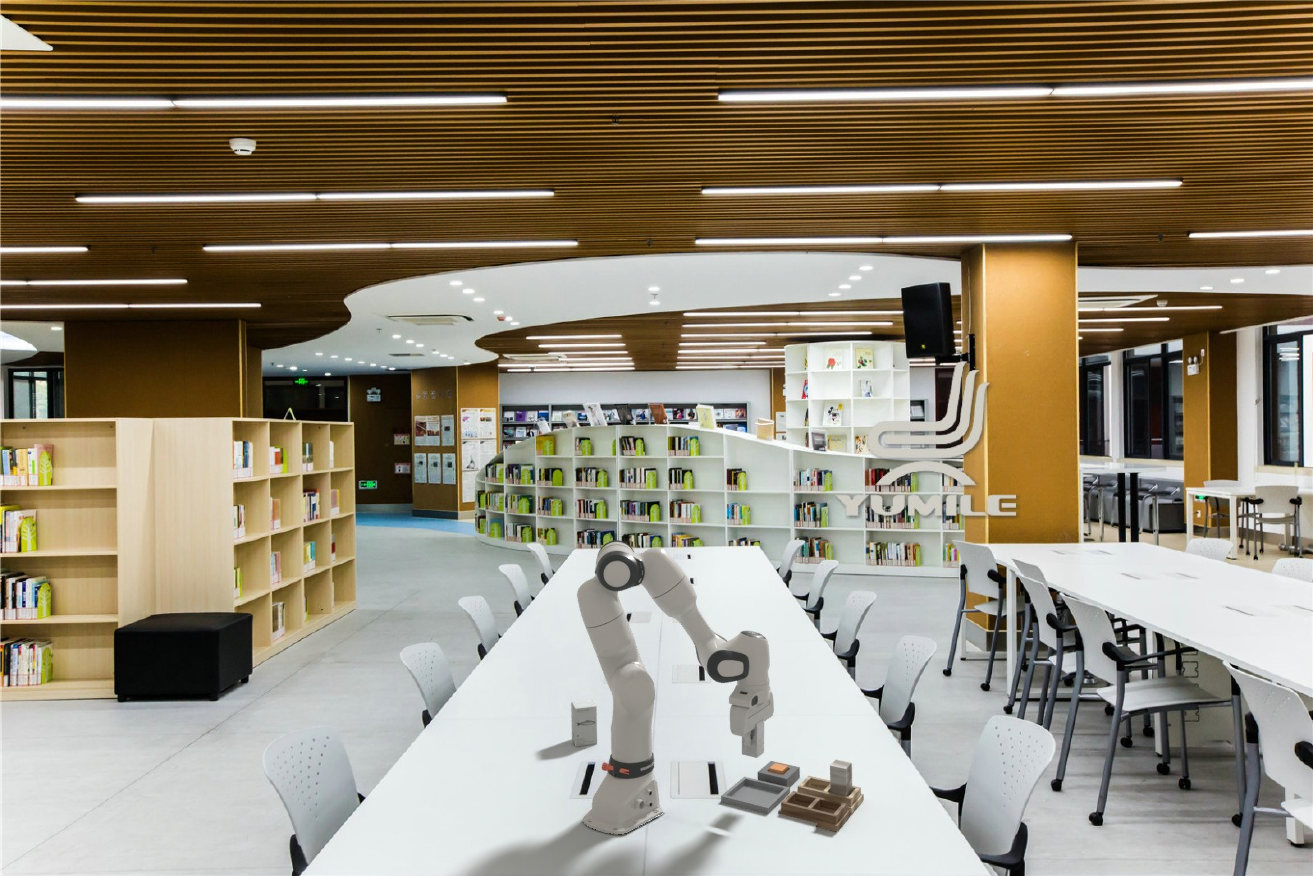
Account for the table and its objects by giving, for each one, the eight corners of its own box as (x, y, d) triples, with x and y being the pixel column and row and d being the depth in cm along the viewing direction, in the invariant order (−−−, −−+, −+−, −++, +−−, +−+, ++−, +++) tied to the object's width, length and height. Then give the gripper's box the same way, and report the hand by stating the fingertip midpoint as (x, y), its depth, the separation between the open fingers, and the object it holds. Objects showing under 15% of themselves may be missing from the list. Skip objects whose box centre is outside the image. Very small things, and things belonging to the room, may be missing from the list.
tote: (768, 817, 210) (768, 808, 210) (721, 805, 218) (720, 796, 218) (790, 796, 222) (789, 787, 222) (744, 785, 230) (744, 776, 230)
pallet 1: (851, 814, 211) (851, 774, 211) (795, 800, 220) (794, 761, 220) (863, 799, 219) (862, 761, 219) (808, 786, 228) (807, 749, 228)
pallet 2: (837, 832, 202) (836, 818, 202) (778, 816, 211) (778, 803, 211) (849, 816, 210) (849, 803, 210) (792, 802, 219) (792, 789, 219)
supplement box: (575, 747, 260) (574, 708, 260) (571, 739, 267) (570, 701, 267) (597, 744, 262) (596, 706, 262) (593, 736, 269) (592, 698, 269)
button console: (787, 793, 224) (786, 779, 224) (757, 786, 229) (757, 772, 229) (799, 781, 232) (799, 767, 232) (771, 774, 237) (770, 760, 237)
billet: (756, 758, 217) (757, 724, 217) (741, 754, 219) (741, 721, 219) (763, 752, 221) (764, 719, 221) (748, 748, 223) (748, 716, 223)
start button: (782, 781, 228) (782, 771, 228) (769, 778, 230) (769, 768, 230) (788, 776, 231) (788, 766, 231) (775, 773, 233) (775, 763, 233)
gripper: (759, 679, 230) (758, 728, 230) (725, 699, 213) (725, 751, 213) (779, 683, 227) (779, 732, 227) (747, 703, 210) (746, 756, 210)
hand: (752, 742), depth 220 cm, fingers closed on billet, 4 cm apart
